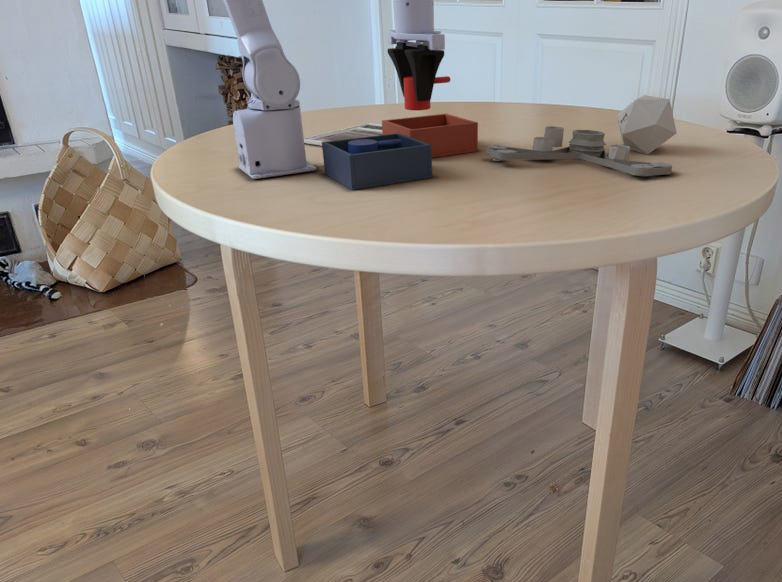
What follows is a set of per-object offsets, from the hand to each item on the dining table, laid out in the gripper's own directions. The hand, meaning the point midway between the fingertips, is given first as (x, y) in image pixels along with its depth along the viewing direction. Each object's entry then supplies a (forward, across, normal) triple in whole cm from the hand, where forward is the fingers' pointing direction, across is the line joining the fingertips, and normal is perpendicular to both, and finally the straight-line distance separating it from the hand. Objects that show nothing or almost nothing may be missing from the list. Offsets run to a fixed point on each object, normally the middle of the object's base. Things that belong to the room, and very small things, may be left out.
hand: (417, 98), depth 102 cm
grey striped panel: (+8, +18, +3) cm, 20 cm away
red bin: (+8, +2, -3) cm, 9 cm away
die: (+9, -17, -32) cm, 37 cm away
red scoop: (+1, 0, -2) cm, 2 cm away
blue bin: (+8, -9, +11) cm, 17 cm away
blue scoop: (+8, -9, +11) cm, 16 cm away
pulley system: (+9, -18, -18) cm, 27 cm away
